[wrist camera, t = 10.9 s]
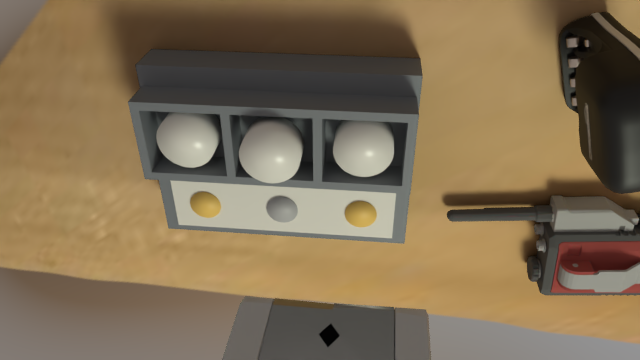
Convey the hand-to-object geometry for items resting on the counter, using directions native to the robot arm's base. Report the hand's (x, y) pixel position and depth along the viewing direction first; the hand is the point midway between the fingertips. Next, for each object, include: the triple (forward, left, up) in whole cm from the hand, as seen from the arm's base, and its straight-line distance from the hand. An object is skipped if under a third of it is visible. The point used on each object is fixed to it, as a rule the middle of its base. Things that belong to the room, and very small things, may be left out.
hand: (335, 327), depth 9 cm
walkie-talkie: (-17, +22, -30) cm, 41 cm away
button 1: (+12, +11, -27) cm, 31 cm away
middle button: (+6, +11, -25) cm, 28 cm away
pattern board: (+6, +14, -30) cm, 33 cm away
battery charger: (-14, +7, -30) cm, 34 cm away
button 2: (0, +11, -27) cm, 29 cm away
